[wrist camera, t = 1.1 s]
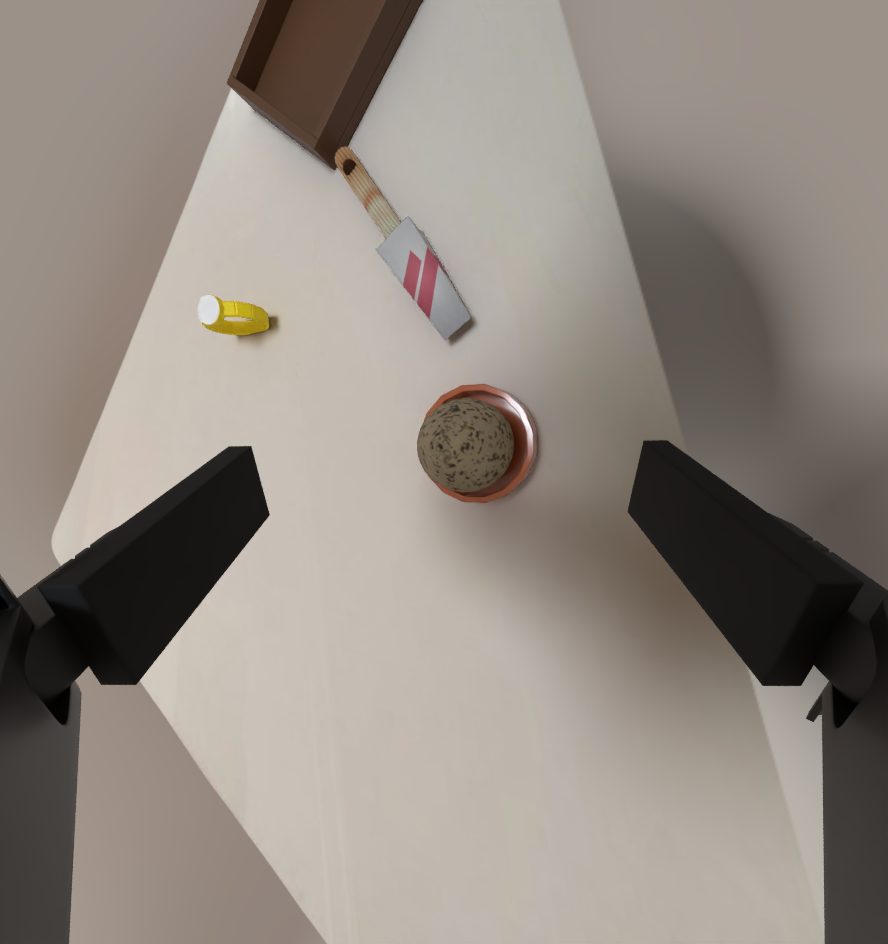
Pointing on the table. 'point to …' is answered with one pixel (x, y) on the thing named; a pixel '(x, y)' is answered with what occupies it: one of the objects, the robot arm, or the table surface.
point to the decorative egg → (465, 445)
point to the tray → (318, 65)
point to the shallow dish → (522, 436)
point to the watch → (216, 310)
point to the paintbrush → (407, 252)
